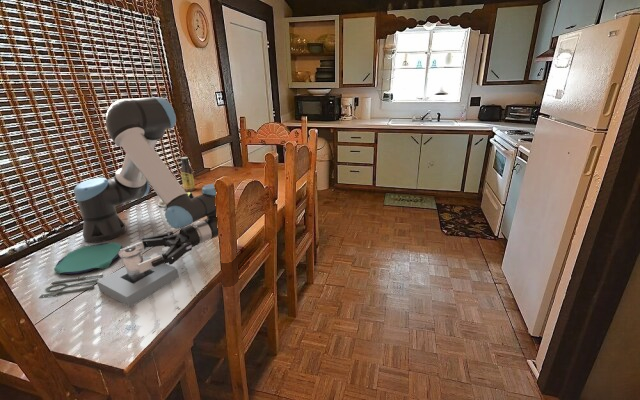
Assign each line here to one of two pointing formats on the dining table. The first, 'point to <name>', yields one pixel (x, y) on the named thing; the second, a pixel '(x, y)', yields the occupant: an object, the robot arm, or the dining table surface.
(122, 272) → the jig
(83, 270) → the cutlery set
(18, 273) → the dining table surface
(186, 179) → the sauce bottle
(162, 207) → the salad plate
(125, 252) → the bushing
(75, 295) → the dining table surface
